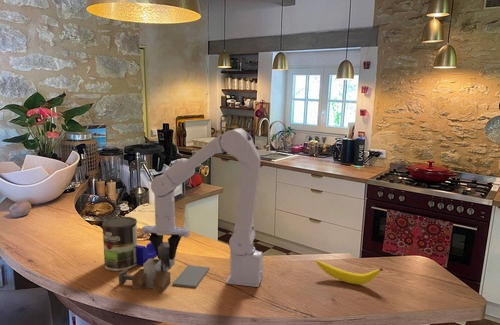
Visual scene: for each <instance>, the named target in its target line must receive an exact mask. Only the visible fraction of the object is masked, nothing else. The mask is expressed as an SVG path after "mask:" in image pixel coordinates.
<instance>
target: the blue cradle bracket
mask: <svg viewBox="0 0 500 325" xmlns="http://www.w3.org/2000/svg"><path fill="white" fill-rule="evenodd" d="M149 258H150V259H156V258H157V254H156V251H155V248H154V246H153V244H152V243H151V241H150V242H148V243H147V244H146V246H145V245H140V244H137V246H136V260H137V265H136V266H142V267H144V266H143V264H144V263H145V262H146V261H147V260H148V259H149Z"/></svg>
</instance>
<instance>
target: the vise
mask: <svg viewBox="0 0 500 325" xmlns="http://www.w3.org/2000/svg"><path fill="white" fill-rule="evenodd" d="M126 281H131V286H132V287H131V288H132V290H141V291H142V290H143V289H144V288H145V287H144V268H139V270H137V271H136V272H135V273H134V274H133V275H132V274H128V269H127V270H125V269H124V270H121V271H120V272H119V274H118V284H119V285H123V284H124V283H125V282H126ZM170 285H171V271H160V272H159V273H158V274H157V275H156V276H155V277H154V278H153V288H152V290H153V292H159V293H164V292H165V291H166V289H168V287H169V286H170Z"/></svg>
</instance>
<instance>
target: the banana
mask: <svg viewBox="0 0 500 325" xmlns="http://www.w3.org/2000/svg"><path fill="white" fill-rule="evenodd" d="M315 263H316V264H317V265H318V266H319V268H320V269H321V270H322V271H323V272H325V273H326V274H327V275H329V276H330V277H333V278H334V279H336V280H338V281H341V282H344V283H348V284H351V285H365V284H368V283H369V282H371V281H372V280H374V279H375V278H376V277H377V276H378V275H379V274H380V272H381V271H382V272H383V268H382V267H381V268H380V269H375V270H372V271H369V272H366V273H354V272H350V271H346V270H344V269H340V268H337V267H334V266H332V265H330V264H327V263H326V262H323V261H321V260H317V259H316V260H315Z"/></svg>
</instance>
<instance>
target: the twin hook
mask: <svg viewBox="0 0 500 325" xmlns="http://www.w3.org/2000/svg"><path fill="white" fill-rule="evenodd" d="M142 267H143V269H144V288H147V289H153V278H154V277H155V276H156V275H157V274H158V273H159V272H160V271H161V260H160V259H159V258H153V259H150V258H149V259H148V260H147V261H146V262H145V263H144V264H143V266H142Z"/></svg>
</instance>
